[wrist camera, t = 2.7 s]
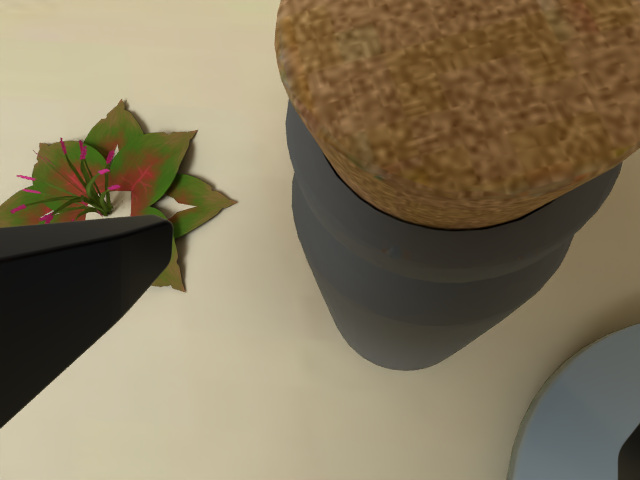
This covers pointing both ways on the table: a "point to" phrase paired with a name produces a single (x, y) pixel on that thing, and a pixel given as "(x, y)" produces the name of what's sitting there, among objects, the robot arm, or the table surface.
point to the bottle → (449, 155)
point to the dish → (582, 414)
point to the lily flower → (115, 181)
